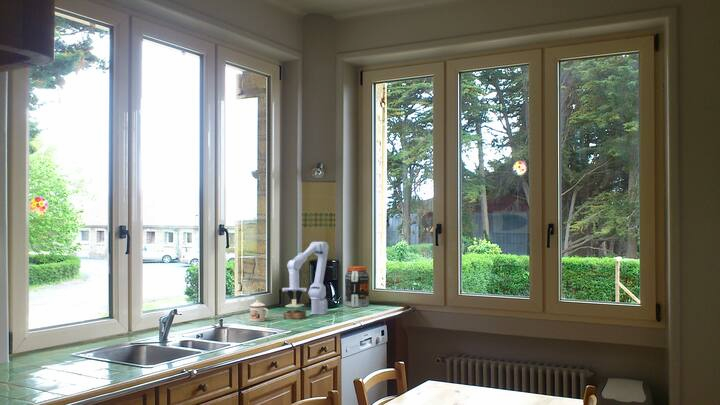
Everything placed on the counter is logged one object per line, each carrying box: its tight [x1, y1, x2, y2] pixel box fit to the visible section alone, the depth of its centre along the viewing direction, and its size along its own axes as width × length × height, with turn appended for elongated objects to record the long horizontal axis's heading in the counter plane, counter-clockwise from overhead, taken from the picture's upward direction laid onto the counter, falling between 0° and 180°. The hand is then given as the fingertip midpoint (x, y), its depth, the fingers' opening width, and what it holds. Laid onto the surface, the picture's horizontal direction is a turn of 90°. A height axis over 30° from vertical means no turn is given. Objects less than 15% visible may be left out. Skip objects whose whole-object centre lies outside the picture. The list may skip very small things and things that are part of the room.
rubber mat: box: [268, 313, 284, 318], centre depth 392 cm, size 9×9×1 cm
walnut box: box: [283, 309, 307, 320], centre depth 383 cm, size 10×10×4 cm
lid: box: [285, 298, 305, 308], centre depth 384 cm, size 8×8×4 cm
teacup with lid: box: [249, 299, 270, 323], centre depth 375 cm, size 12×9×12 cm
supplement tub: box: [344, 265, 370, 308], centre depth 433 cm, size 16×16×26 cm
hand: (294, 303), depth 384 cm, fingers closed on lid, 3 cm apart
